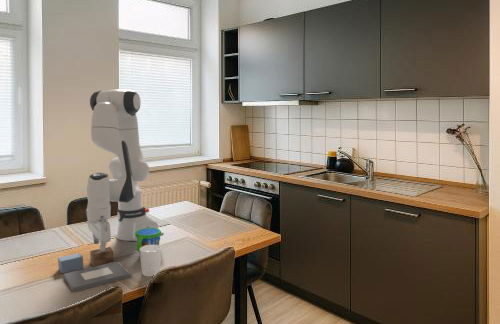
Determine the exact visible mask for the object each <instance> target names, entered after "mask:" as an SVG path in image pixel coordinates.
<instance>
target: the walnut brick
mask: <svg viewBox="0 0 500 324" xmlns="http://www.w3.org/2000/svg"><path fill="white" fill-rule="evenodd" d="M114 254H115V253H114V249H113V248H112V247H111V246H107V247H105V251H101V250H100V248H97V249H94V250H89V255H90V263H91V265H92V266H93V267H96V266H100V265H104V264H109V263H113V262H115V259H114V257H115V256H114Z"/></svg>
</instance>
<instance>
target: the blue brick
mask: <svg viewBox="0 0 500 324" xmlns="http://www.w3.org/2000/svg"><path fill="white" fill-rule="evenodd" d="M83 256H84V255H82V254H81V253H80V252H79V253H74V254H69V255H65V256H60V257H57V261H58V262H57V263H58V270H59V272H60V273H61V274H65V273H70V272H74V271H78V270H83V269H84V258H83Z"/></svg>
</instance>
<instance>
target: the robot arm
mask: <svg viewBox="0 0 500 324" xmlns="http://www.w3.org/2000/svg"><path fill="white" fill-rule="evenodd" d="M89 105H90V108H91V110H92V117H91V123H90V126H91V127H90V133H91V134H90V135H91V140H92V142H93V144H94V145H96V147H97V148H100V149H101V150H104V151H106V152H109V153H111V154H114V155H115V156H116V157H113V158H112V159H111V160H110V162H109V164H108V169H109V172H110V173H111V175H112V178H110V175H109V174H107V173H105V172H96V173H92V174H89V175H88V180H87V186H86V187H87V188H86V197H87V207H86V210H85V214H86V218H87V225H88V227H87V228H88V230H89V232H91V233H92V238H93V244H94V245H99V243H100V245H99V249H100V250H101V251H105V248H106V246H107V243H109V242H110V241H111V239H112V237H111V235H112V234H111V225H110V224H111V223H110V222H109V221H108V220H109V219H111V218H112V216H111V215H112V214H111V213H112V211H111V209H112V208H111V202H117V204H118V207H117V213H116V214H117V220H118V222H117V223H118V225H117V232H116V236H115V238H116V239H117V240H119V241H127V242H128V241H129V242H131V241H132V242H137V237H136V235H135V233H136V231H138V230H140V229H144V228H157V229H160V230H161V235H163V234H164V230H163V229H162V228H161V227H159V223H158V221H157V220H156V219H155V218H153V216H150V215H149V214H147V213H150V209H149V208H148V207H144V206H143V197H142V196H143V195H142V191H141V187H140V186H139V184H138V182H143V181H145V180H147V179H148V177H149V175H150V167H149V164H148V163H147V162H146V160H145V158H144V155H143V152H142V148H141V144H140V136H139V135H140V134H139V122H138V117H137V113H138V112H139V110H140V108H141V98H140V95H139V94H138V93H137V91H135V90H132V89H110V90H99V91H94V92H93V93H92V94H91V96H90V99H89ZM161 235H160V236H161Z"/></svg>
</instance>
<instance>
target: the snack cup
mask: <svg viewBox="0 0 500 324" xmlns="http://www.w3.org/2000/svg"><path fill="white" fill-rule="evenodd" d="M135 235H136V237H137V241H136V249H135V250H136V251H137V253H140V248H141V247H143V246H145V245H159V246H160V241H161V230H160V229H157V228H144V229H140V230H138V231H136V233H135Z"/></svg>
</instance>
